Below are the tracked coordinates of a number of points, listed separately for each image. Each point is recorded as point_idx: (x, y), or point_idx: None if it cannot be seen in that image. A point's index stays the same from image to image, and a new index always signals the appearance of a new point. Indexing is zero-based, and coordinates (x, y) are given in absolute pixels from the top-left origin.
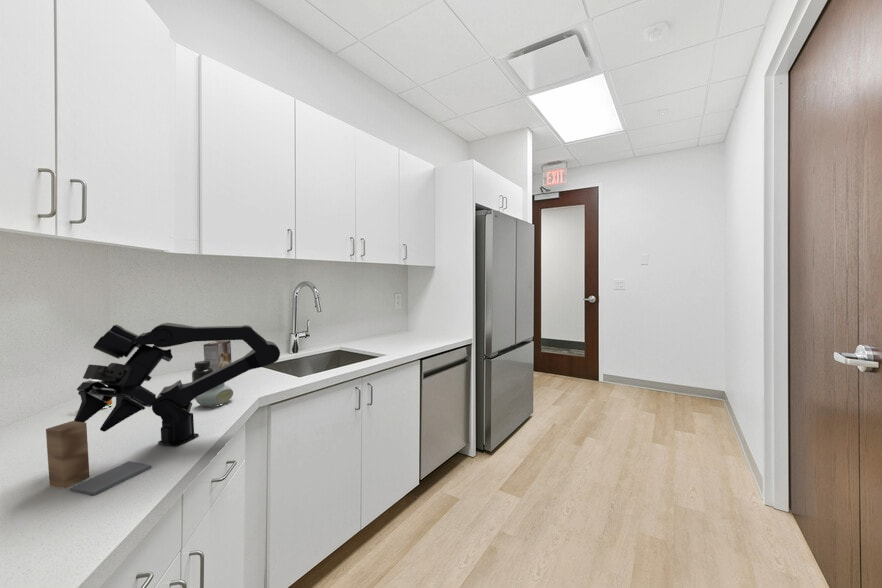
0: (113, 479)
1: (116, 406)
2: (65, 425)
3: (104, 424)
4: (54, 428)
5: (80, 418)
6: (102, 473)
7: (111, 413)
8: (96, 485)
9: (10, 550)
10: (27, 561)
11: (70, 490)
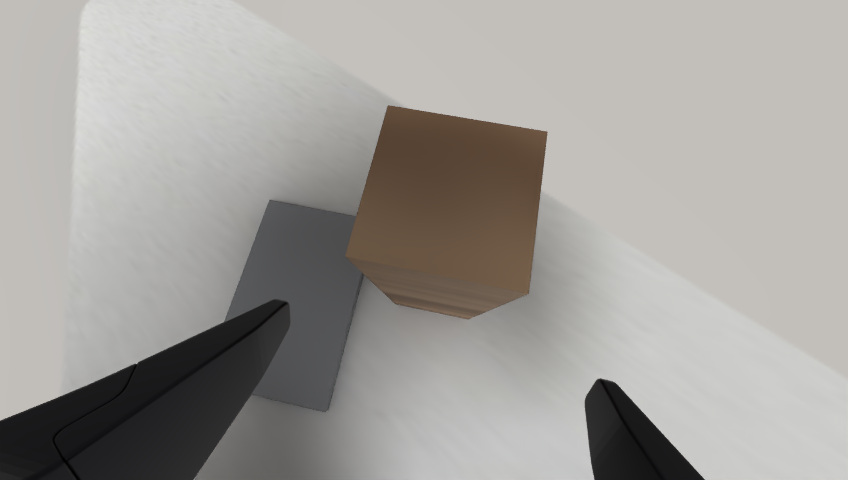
0: (270, 272)
1: (29, 449)
2: (467, 195)
3: (245, 316)
4: (488, 141)
5: (619, 450)
6: (348, 309)
7: (151, 377)
8: (297, 235)
9: (281, 34)
10: (216, 16)
11: None
